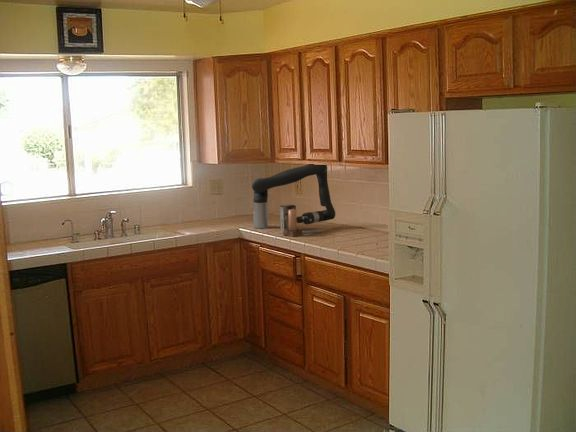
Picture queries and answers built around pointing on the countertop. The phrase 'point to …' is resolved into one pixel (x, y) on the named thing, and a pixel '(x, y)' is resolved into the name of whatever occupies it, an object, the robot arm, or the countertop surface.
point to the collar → (292, 233)
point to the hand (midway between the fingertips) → (292, 221)
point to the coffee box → (285, 216)
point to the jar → (292, 220)
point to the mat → (311, 232)
